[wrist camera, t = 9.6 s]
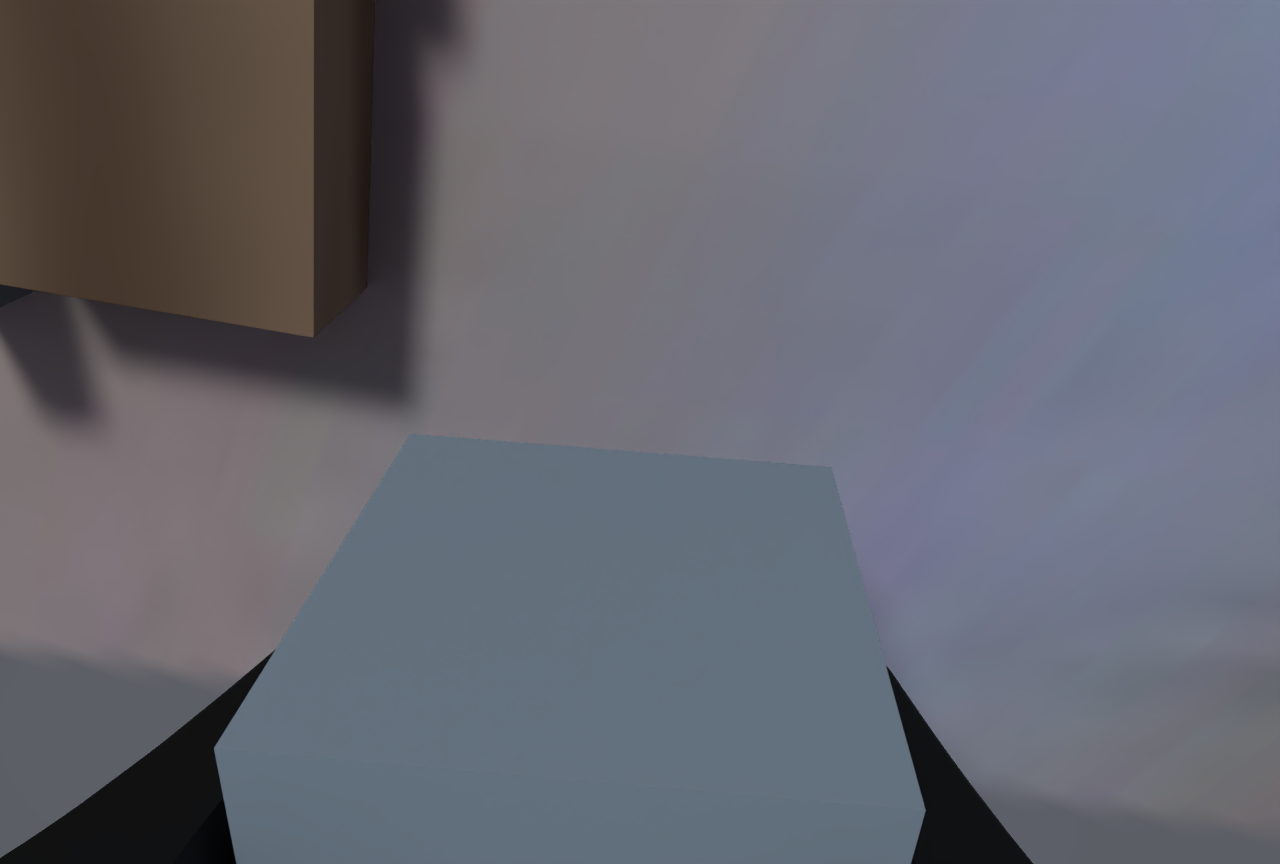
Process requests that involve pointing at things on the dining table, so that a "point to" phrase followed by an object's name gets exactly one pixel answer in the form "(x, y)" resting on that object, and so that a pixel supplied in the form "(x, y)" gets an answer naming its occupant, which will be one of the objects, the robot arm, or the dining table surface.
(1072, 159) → the dining table surface
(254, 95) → the walnut block
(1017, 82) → the dining table surface
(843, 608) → the blue-grey cube
